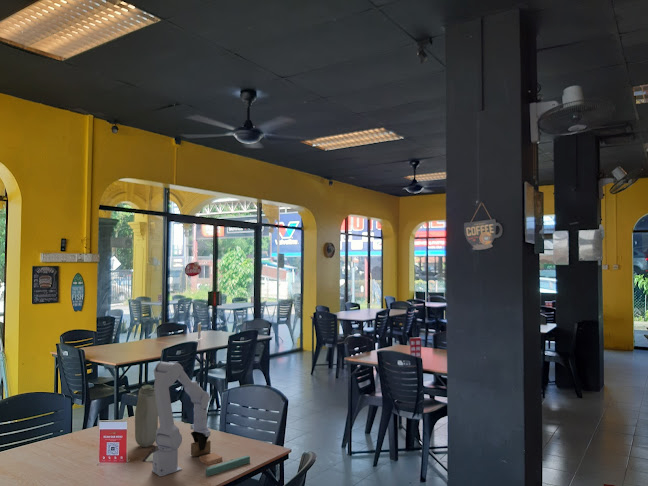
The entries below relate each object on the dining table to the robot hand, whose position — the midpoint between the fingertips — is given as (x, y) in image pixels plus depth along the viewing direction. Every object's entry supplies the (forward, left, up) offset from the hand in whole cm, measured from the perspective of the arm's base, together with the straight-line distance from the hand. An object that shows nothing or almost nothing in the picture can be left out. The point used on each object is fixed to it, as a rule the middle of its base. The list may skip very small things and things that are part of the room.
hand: (200, 448), depth 220 cm
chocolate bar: (-13, +14, -3) cm, 19 cm away
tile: (0, -10, -3) cm, 10 cm away
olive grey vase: (-13, +27, -3) cm, 31 cm away
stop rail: (+1, -22, -2) cm, 22 cm away
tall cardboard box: (0, 0, -2) cm, 2 cm away
